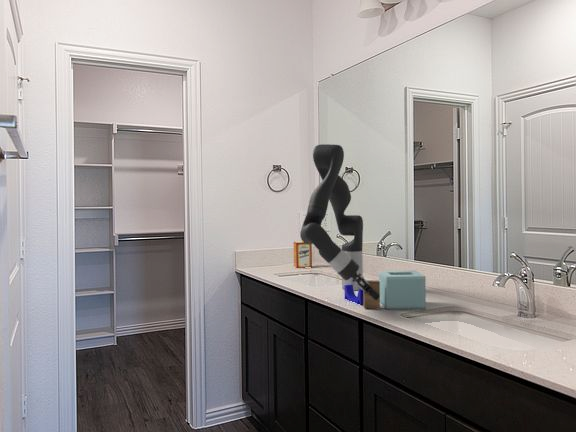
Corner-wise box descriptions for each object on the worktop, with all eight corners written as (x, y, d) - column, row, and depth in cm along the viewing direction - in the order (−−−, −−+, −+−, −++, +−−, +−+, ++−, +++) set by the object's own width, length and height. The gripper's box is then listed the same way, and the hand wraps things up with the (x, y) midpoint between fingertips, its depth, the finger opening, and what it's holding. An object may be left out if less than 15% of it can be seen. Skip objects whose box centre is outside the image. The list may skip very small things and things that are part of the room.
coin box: (379, 301, 176) (379, 271, 176) (415, 301, 176) (414, 270, 176) (386, 309, 162) (386, 276, 162) (425, 309, 162) (425, 276, 162)
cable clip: (370, 304, 172) (370, 289, 172) (360, 305, 170) (360, 290, 170) (354, 298, 183) (354, 284, 183) (344, 299, 181) (344, 285, 181)
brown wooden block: (363, 307, 167) (363, 280, 167) (378, 307, 167) (378, 280, 167) (364, 309, 164) (364, 281, 164) (379, 308, 164) (379, 281, 164)
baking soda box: (308, 266, 278) (308, 240, 278) (311, 268, 272) (311, 241, 271) (293, 267, 276) (293, 241, 275) (296, 268, 269) (296, 242, 269)
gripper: (353, 259, 158) (388, 293, 158) (348, 255, 172) (380, 286, 172) (338, 275, 158) (373, 309, 158) (334, 269, 172) (366, 300, 173)
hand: (377, 297), depth 165 cm, fingers closed on brown wooden block, 3 cm apart
